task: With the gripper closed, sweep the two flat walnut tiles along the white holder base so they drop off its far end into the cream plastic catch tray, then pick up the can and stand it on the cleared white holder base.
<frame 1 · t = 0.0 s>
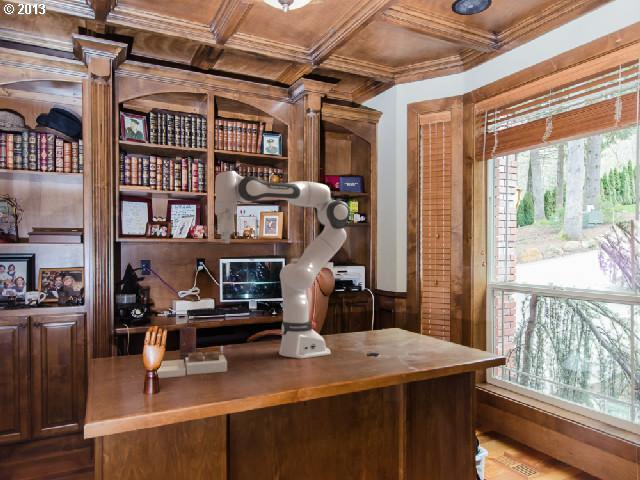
hand: (225, 243, 183), 48 cm above the table, fingers open, 8 cm apart
can: (188, 361, 179), on the table
white holder base: (205, 368, 169), on the table
tile a: (211, 359, 170), point 3 cm above the table, touching white holder base
tray: (170, 371, 165), on the table
tile b: (195, 360, 168), point 3 cm above the table, touching white holder base
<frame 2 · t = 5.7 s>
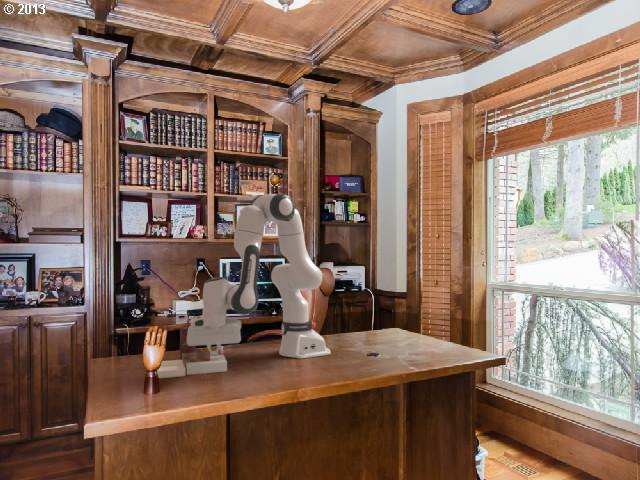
hand: (213, 355, 170), 5 cm above the table, fingers closed
tile a: (202, 360, 168), point 3 cm above the table, touching white holder base, tile b
tile b: (189, 361, 167), point 4 cm above the table, touching tile a
everything else where it was.
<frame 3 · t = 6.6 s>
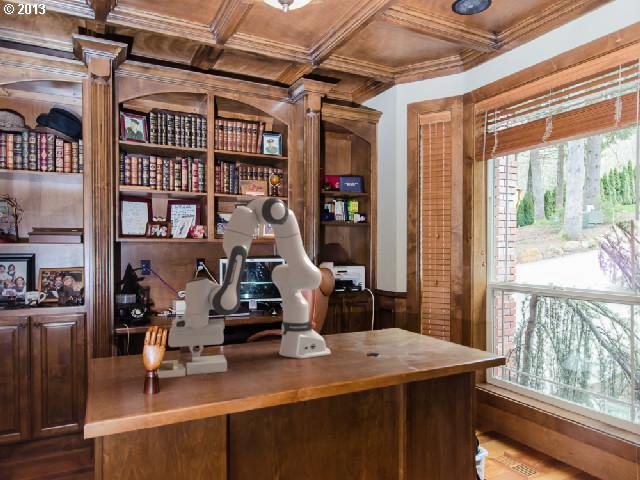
hand: (196, 357, 167), 5 cm above the table, fingers closed
tile a: (185, 361, 166), point 3 cm above the table, touching white holder base, gripper
tile b: (166, 364, 164), point 3 cm above the table, tilted 180°, touching tray
everything else where it was.
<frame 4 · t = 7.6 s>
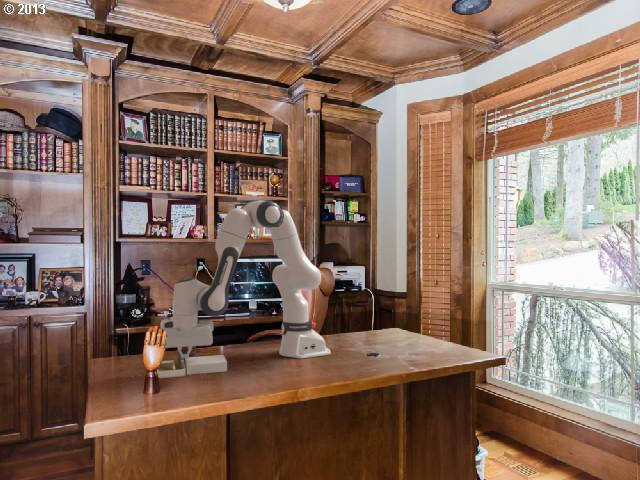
hand: (184, 358, 166), 5 cm above the table, fingers closed
tile a: (181, 361, 166), point 3 cm above the table, tilted 103°, touching gripper, tray
everything else where it was.
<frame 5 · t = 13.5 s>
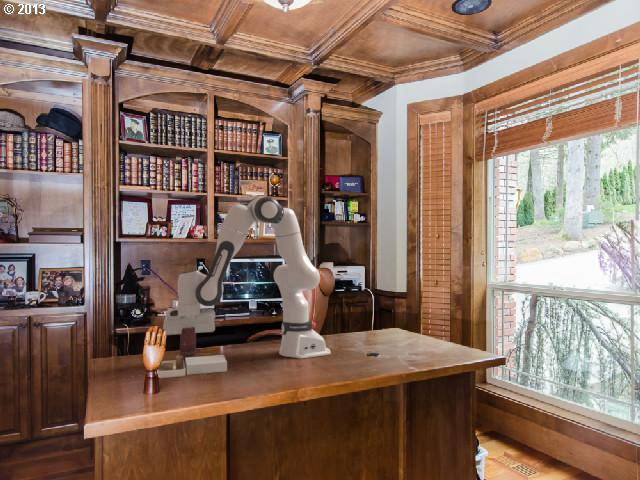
hand: (189, 344, 180), 7 cm above the table, fingers closed, pressing on can
can: (188, 361, 179), on the table, touching gripper
tile a: (183, 363, 166), point 3 cm above the table, tilted 90°, touching tray
everything else where it was.
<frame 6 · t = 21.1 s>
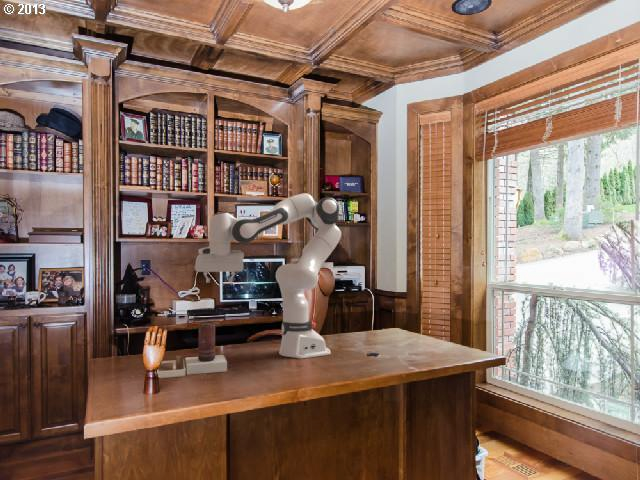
hand: (219, 282, 190), 31 cm above the table, fingers open, 8 cm apart
can: (206, 360, 169), point 3 cm above the table, touching white holder base
everything else where it was.
at the end: tile a inside the target area on the tray (4.4 cm from its centre), point 2.9 cm above the tray's base; tile b inside the target area on the tray (1.7 cm from its centre), point 2.9 cm above the tray's base; can inside the target area on the white holder base (0.5 cm from its centre), point 3.3 cm above the white holder base's base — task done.
